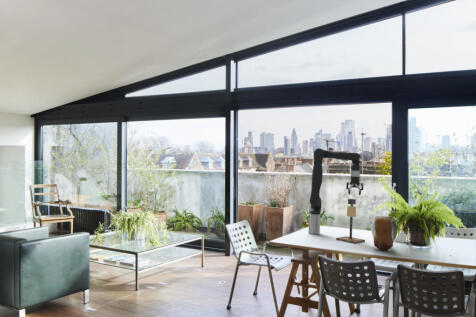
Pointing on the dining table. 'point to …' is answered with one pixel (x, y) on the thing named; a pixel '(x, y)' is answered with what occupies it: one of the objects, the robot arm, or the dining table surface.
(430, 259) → the dining table surface
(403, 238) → the cable organizer
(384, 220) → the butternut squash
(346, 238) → the stand
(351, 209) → the sleeve
